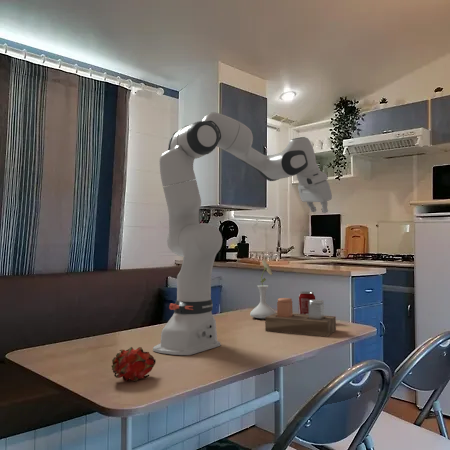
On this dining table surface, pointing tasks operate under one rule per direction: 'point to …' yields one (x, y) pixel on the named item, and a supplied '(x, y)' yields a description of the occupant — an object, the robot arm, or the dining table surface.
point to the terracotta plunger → (284, 307)
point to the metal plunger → (316, 309)
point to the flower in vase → (263, 298)
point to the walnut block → (301, 325)
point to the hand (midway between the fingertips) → (319, 212)
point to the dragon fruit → (133, 364)
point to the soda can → (305, 301)
